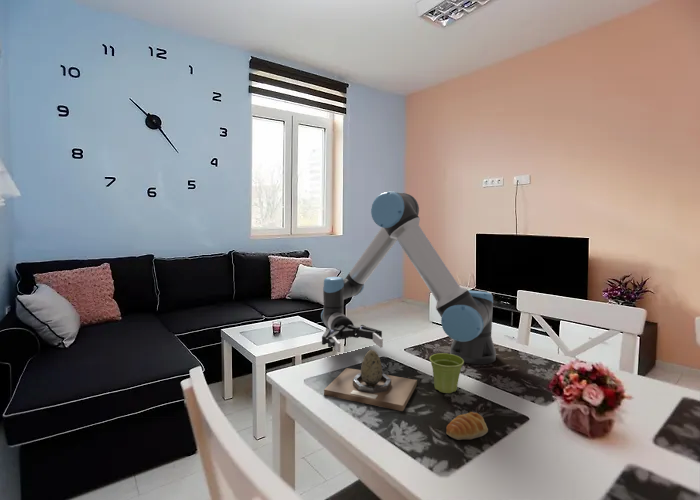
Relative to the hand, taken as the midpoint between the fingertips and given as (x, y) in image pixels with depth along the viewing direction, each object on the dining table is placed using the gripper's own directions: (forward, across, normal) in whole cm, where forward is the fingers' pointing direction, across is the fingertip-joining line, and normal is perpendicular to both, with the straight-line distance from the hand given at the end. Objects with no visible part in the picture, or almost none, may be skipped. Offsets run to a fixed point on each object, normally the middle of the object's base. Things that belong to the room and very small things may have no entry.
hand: (360, 345), depth 117 cm
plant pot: (+15, -20, -10) cm, 27 cm away
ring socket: (+10, 0, -8) cm, 13 cm away
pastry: (+36, -13, -10) cm, 39 cm away
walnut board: (+10, 0, -10) cm, 14 cm away
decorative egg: (+10, 0, -8) cm, 13 cm away
